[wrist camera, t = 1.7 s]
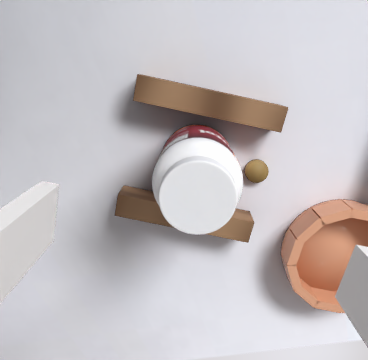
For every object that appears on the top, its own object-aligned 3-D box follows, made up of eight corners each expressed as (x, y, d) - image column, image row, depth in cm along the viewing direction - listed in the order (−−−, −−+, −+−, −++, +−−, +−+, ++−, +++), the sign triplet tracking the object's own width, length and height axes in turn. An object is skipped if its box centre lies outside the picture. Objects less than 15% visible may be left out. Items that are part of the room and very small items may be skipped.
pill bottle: (245, 161, 30) (273, 207, 20) (192, 202, 31) (192, 266, 21) (201, 107, 29) (206, 125, 18) (147, 152, 30) (123, 193, 20)
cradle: (120, 205, 32) (114, 215, 29) (142, 74, 28) (137, 74, 26) (249, 231, 32) (253, 243, 30) (286, 106, 29) (294, 108, 26)
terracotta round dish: (268, 283, 34) (274, 300, 31) (299, 189, 31) (309, 199, 28) (365, 302, 34) (379, 320, 32) (405, 211, 31) (425, 223, 29)
